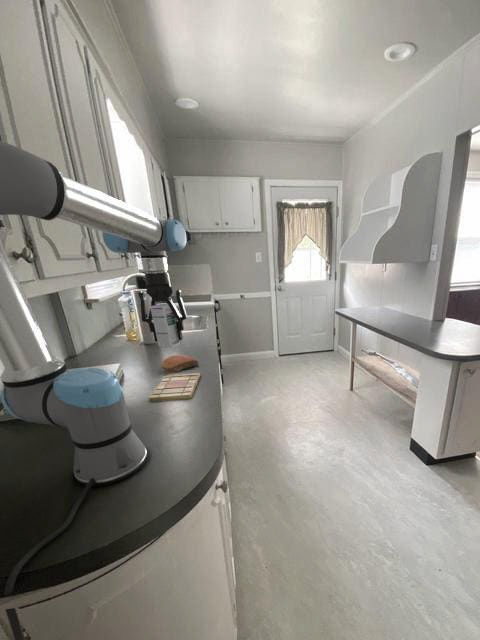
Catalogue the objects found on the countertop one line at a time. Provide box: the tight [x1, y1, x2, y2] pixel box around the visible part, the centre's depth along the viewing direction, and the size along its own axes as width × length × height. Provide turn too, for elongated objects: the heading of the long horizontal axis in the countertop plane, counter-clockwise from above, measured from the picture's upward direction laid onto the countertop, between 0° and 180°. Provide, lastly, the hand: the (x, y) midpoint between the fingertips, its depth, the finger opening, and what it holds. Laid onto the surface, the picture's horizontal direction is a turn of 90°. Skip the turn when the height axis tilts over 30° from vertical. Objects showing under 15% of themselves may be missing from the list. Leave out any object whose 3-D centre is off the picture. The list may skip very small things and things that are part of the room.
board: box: [148, 372, 201, 402], centre depth 116 cm, size 22×14×2 cm, turn 7°
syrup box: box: [149, 302, 183, 349], centre depth 107 cm, size 6×6×14 cm
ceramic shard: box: [161, 354, 199, 373], centre depth 138 cm, size 15×6×15 cm
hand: (169, 340), depth 109 cm, fingers closed on syrup box, 7 cm apart
